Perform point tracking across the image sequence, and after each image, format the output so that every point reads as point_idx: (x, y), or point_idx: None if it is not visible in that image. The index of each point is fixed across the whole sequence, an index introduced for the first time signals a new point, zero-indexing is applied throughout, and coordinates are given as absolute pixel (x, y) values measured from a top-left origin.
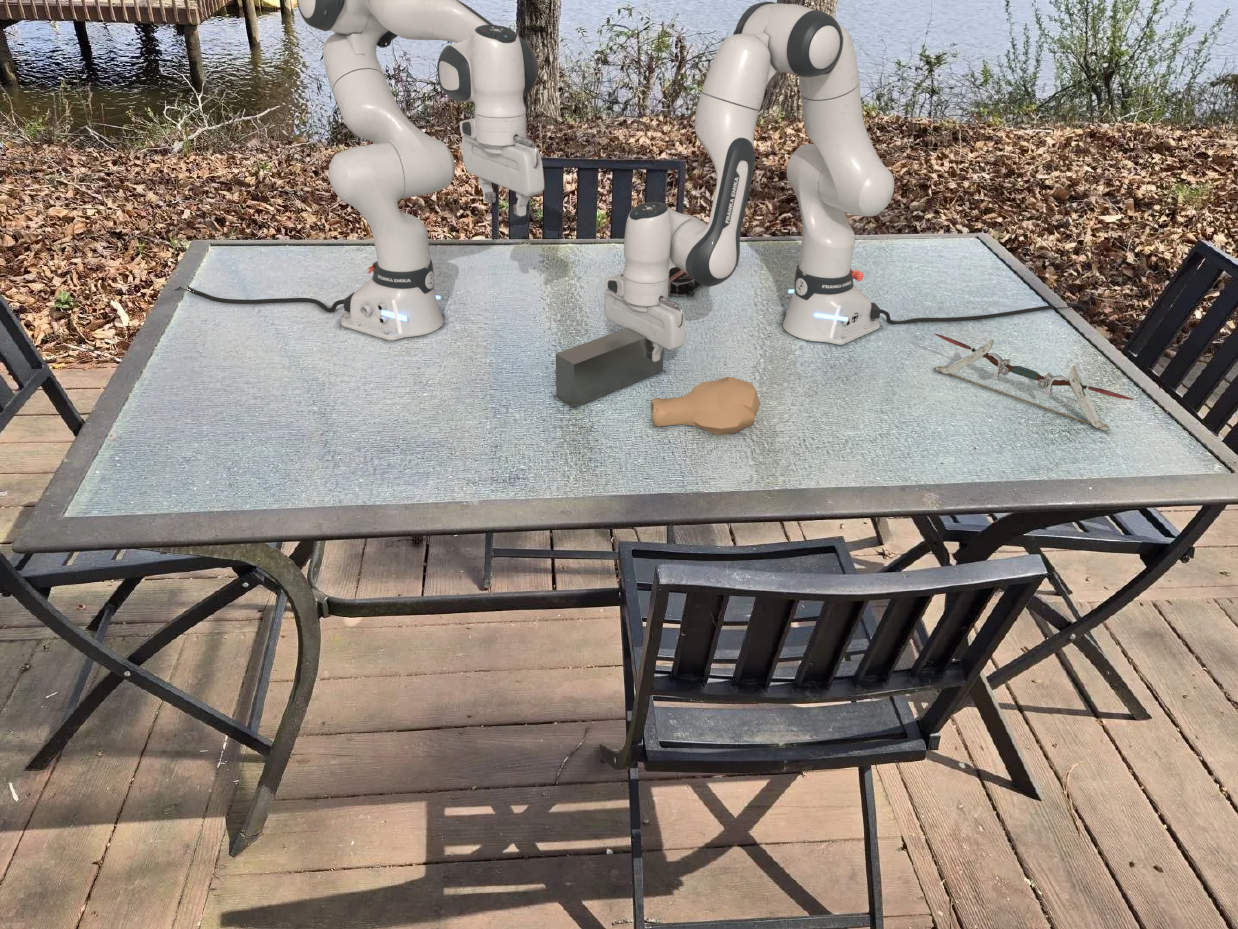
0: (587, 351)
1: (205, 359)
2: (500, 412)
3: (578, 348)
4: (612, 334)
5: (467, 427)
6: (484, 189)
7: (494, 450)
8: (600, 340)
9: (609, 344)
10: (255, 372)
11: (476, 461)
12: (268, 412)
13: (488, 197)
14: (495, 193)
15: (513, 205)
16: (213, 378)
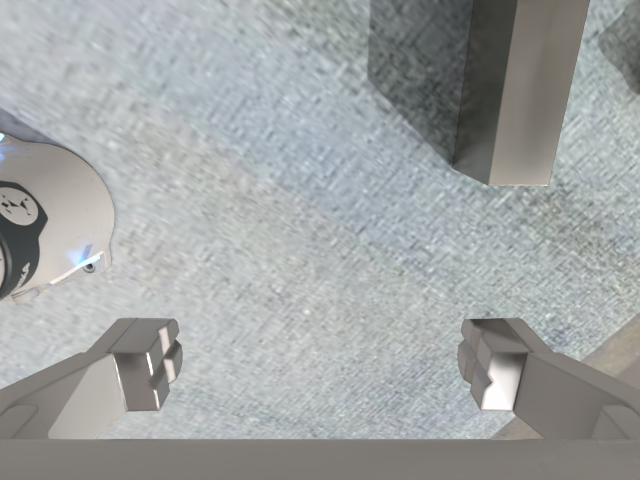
0: (534, 125)
1: None
2: (423, 262)
3: (508, 131)
4: (523, 7)
5: (422, 315)
6: (101, 428)
7: None
8: (521, 59)
9: (551, 56)
10: (118, 432)
11: None
12: None
13: (169, 389)
14: (151, 348)
15: (479, 407)
16: None
